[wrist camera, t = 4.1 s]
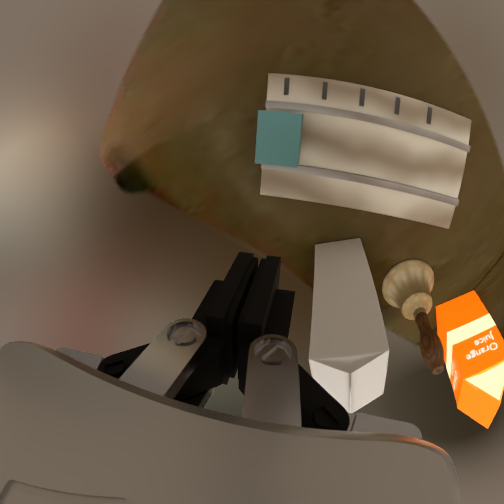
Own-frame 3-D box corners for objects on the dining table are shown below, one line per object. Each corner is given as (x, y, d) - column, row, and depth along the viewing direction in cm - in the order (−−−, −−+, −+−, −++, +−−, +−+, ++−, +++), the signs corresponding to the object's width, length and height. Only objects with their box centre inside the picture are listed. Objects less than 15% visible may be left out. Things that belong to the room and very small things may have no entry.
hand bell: (378, 308, 37) (395, 398, 23) (384, 259, 33) (414, 348, 20) (427, 305, 35) (457, 388, 21) (438, 257, 31) (485, 337, 18)
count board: (271, 75, 26) (267, 72, 24) (463, 119, 22) (473, 120, 20) (263, 189, 33) (259, 195, 30) (442, 222, 29) (450, 230, 27)
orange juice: (474, 289, 32) (526, 386, 14) (473, 326, 35) (509, 417, 17) (434, 306, 35) (473, 414, 17) (436, 342, 38) (463, 439, 20)
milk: (321, 282, 37) (311, 431, 18) (314, 243, 35) (301, 394, 16) (364, 276, 35) (385, 425, 16) (361, 236, 33) (395, 386, 14)
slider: (265, 111, 26) (258, 110, 23) (303, 114, 25) (302, 113, 22) (262, 157, 29) (254, 163, 25) (299, 161, 28) (296, 168, 25)
